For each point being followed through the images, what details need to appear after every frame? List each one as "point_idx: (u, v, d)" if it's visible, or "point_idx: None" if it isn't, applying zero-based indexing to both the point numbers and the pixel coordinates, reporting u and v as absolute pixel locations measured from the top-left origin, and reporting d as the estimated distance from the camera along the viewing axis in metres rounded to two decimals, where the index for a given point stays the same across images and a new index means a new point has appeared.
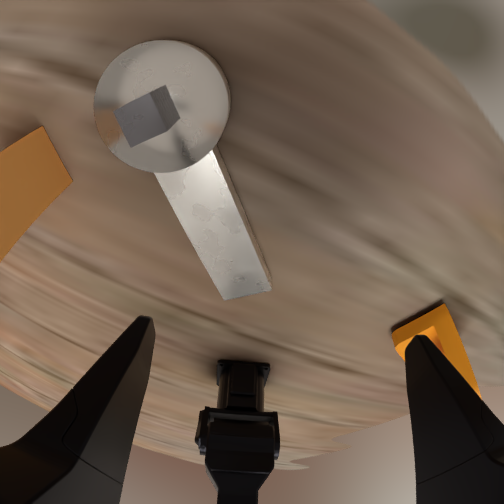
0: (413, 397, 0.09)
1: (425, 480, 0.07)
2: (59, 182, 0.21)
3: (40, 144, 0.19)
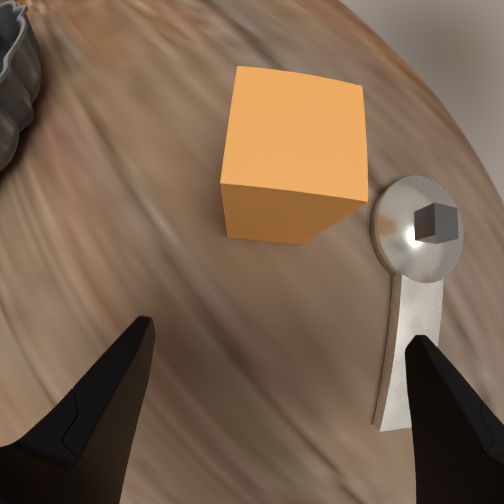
0: (413, 397, 0.09)
1: (425, 480, 0.07)
2: None
3: None
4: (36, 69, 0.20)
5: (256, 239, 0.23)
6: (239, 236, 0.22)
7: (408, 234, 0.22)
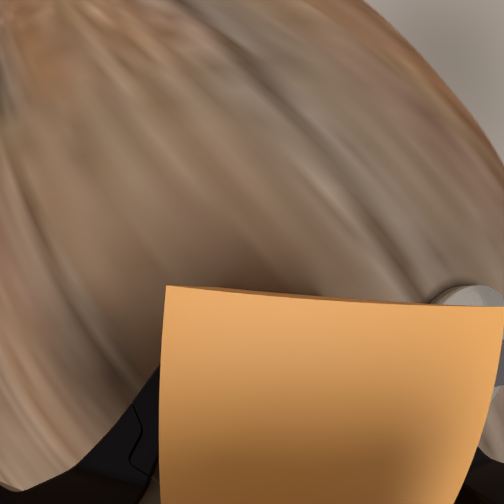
0: None
1: None
2: None
3: None
4: None
5: None
6: None
7: None
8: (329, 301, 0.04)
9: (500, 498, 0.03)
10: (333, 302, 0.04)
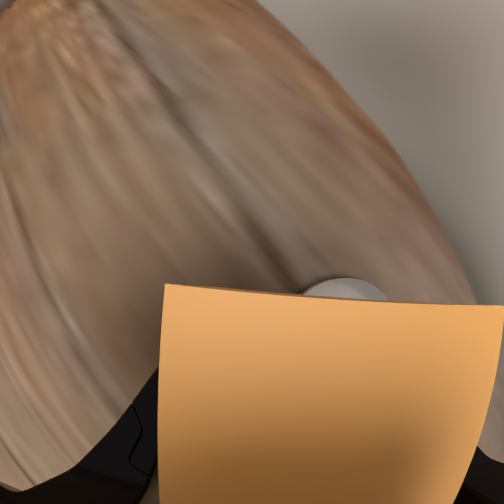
0: None
1: None
2: None
3: None
4: None
5: None
6: None
7: None
8: (328, 299, 0.04)
9: (500, 498, 0.03)
10: (332, 300, 0.04)
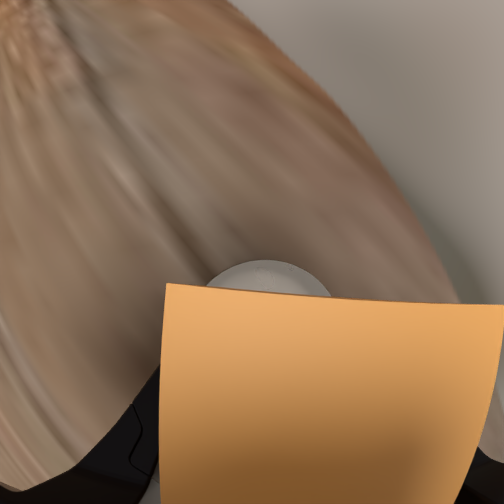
0: None
1: None
2: None
3: None
4: None
5: None
6: None
7: None
8: (329, 299, 0.04)
9: (500, 498, 0.03)
10: (333, 300, 0.04)
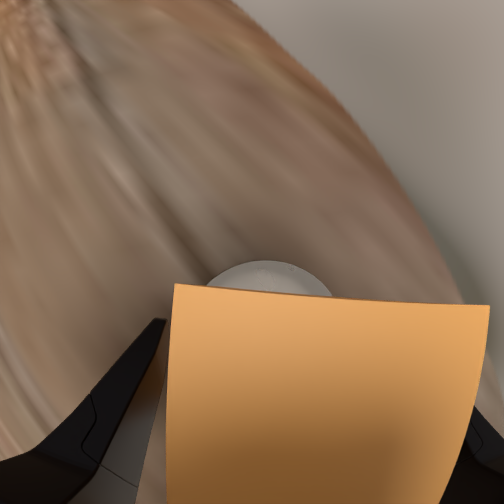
0: None
1: None
2: None
3: None
4: None
5: None
6: None
7: None
8: (321, 298, 0.04)
9: None
10: (324, 299, 0.04)
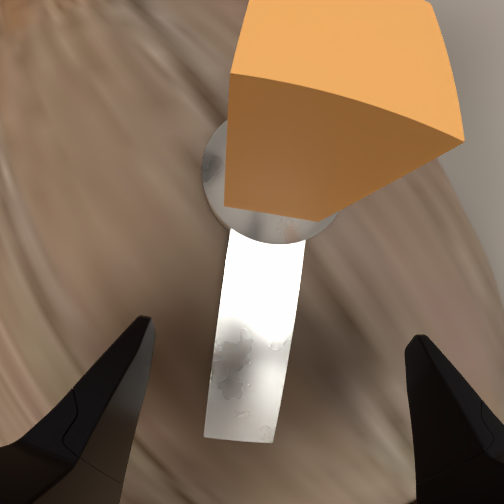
0: (413, 397, 0.09)
1: (425, 480, 0.07)
2: None
3: None
4: None
5: (261, 210, 0.17)
6: (239, 204, 0.17)
7: None
8: None
9: None
10: None
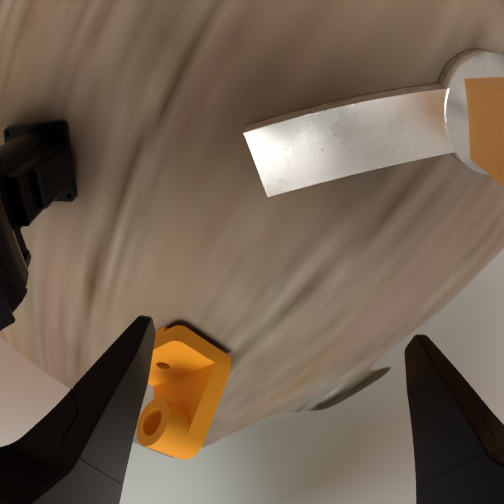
0: (413, 397, 0.09)
1: (425, 480, 0.07)
2: None
3: None
4: None
5: (472, 112, 0.14)
6: (475, 95, 0.13)
7: None
8: None
9: None
10: None
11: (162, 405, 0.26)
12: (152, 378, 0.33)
